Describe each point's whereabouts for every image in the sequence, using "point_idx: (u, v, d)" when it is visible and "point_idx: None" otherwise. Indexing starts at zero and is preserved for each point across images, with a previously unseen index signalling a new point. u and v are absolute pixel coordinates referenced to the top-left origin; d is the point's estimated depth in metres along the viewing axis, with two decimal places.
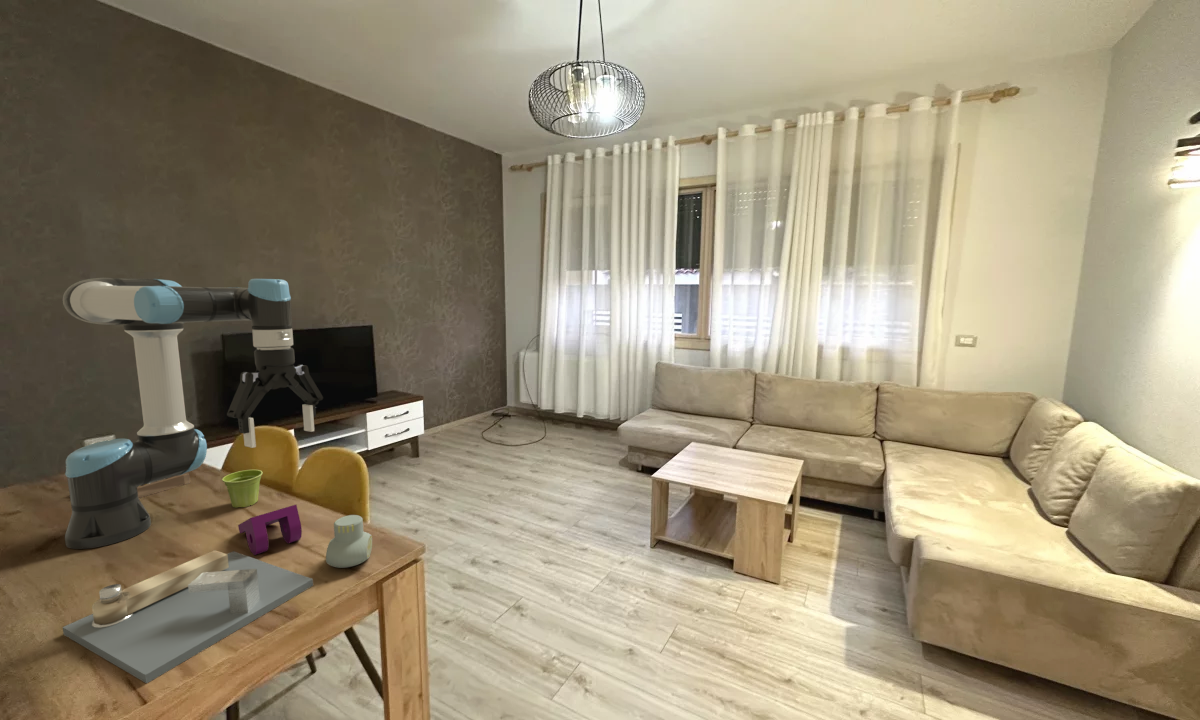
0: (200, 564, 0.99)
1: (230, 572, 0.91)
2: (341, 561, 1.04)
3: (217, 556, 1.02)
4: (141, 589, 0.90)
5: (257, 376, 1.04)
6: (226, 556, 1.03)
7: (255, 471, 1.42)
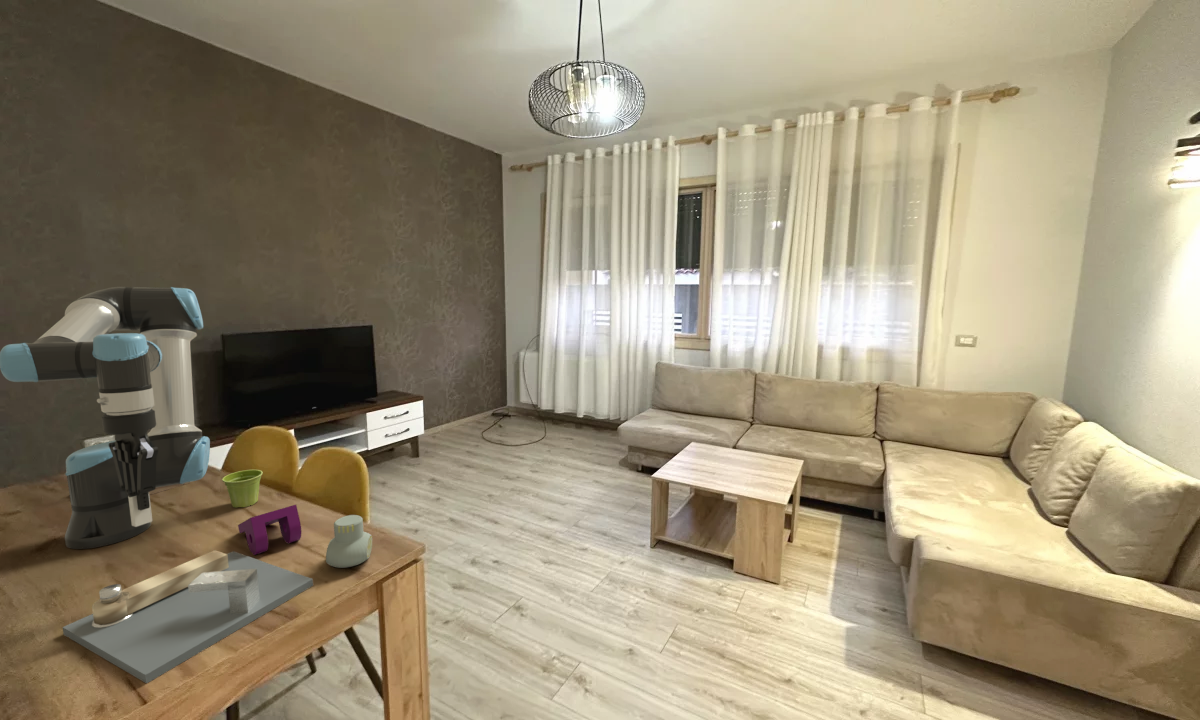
0: (200, 564, 0.99)
1: (230, 572, 0.91)
2: (341, 561, 1.04)
3: (217, 556, 1.02)
4: (141, 589, 0.90)
5: None
6: (226, 556, 1.03)
7: (255, 471, 1.42)
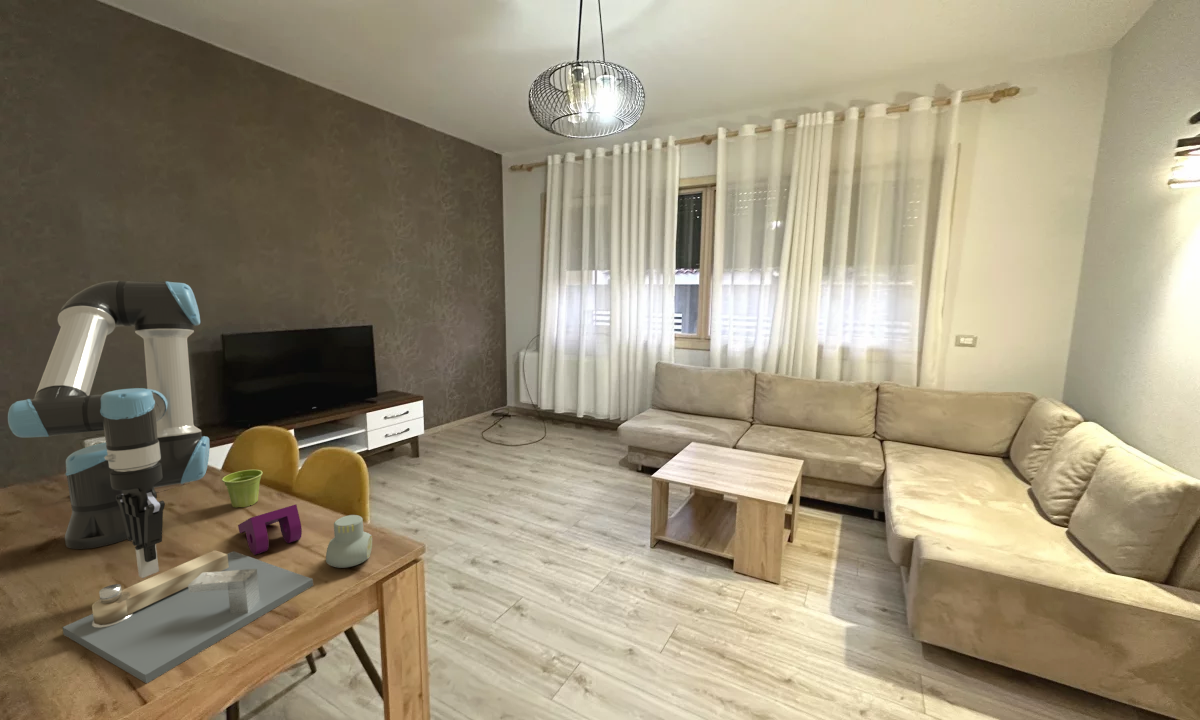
0: (200, 564, 0.99)
1: (230, 572, 0.91)
2: (341, 561, 1.04)
3: (217, 556, 1.02)
4: (141, 589, 0.90)
5: None
6: (226, 556, 1.03)
7: (255, 471, 1.42)
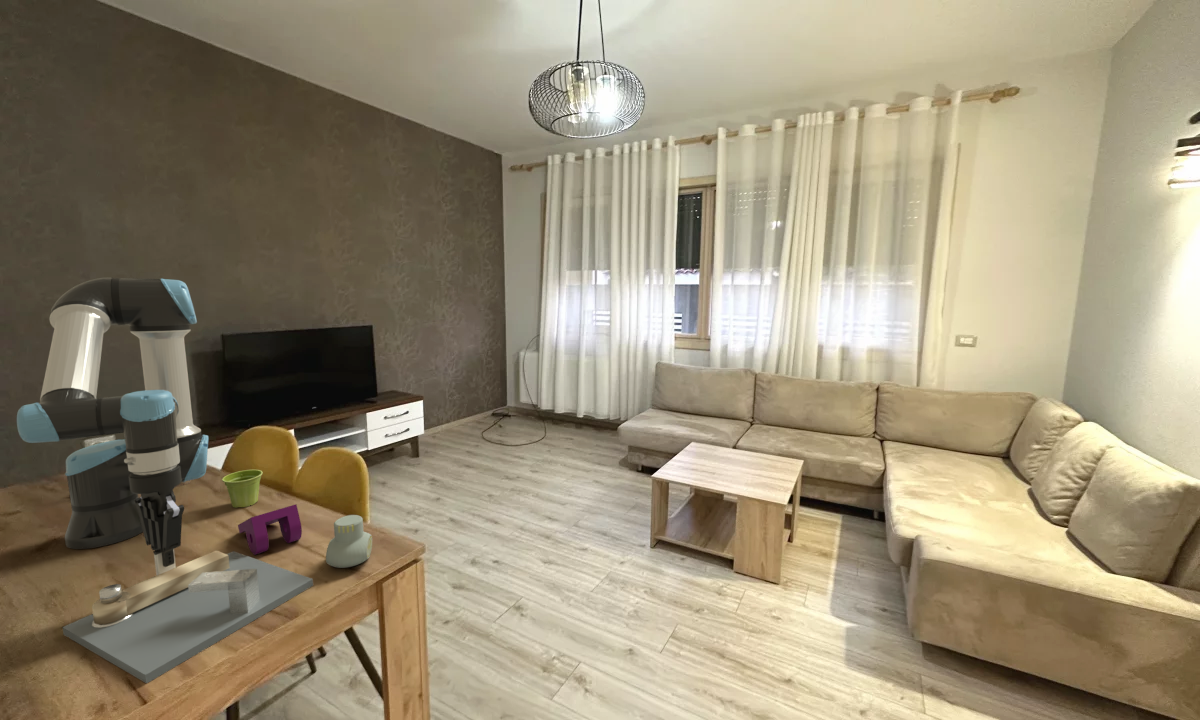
0: (201, 564, 0.99)
1: (230, 572, 0.91)
2: (341, 561, 1.04)
3: (218, 557, 1.02)
4: (141, 590, 0.90)
5: None
6: (227, 557, 1.02)
7: (255, 471, 1.42)
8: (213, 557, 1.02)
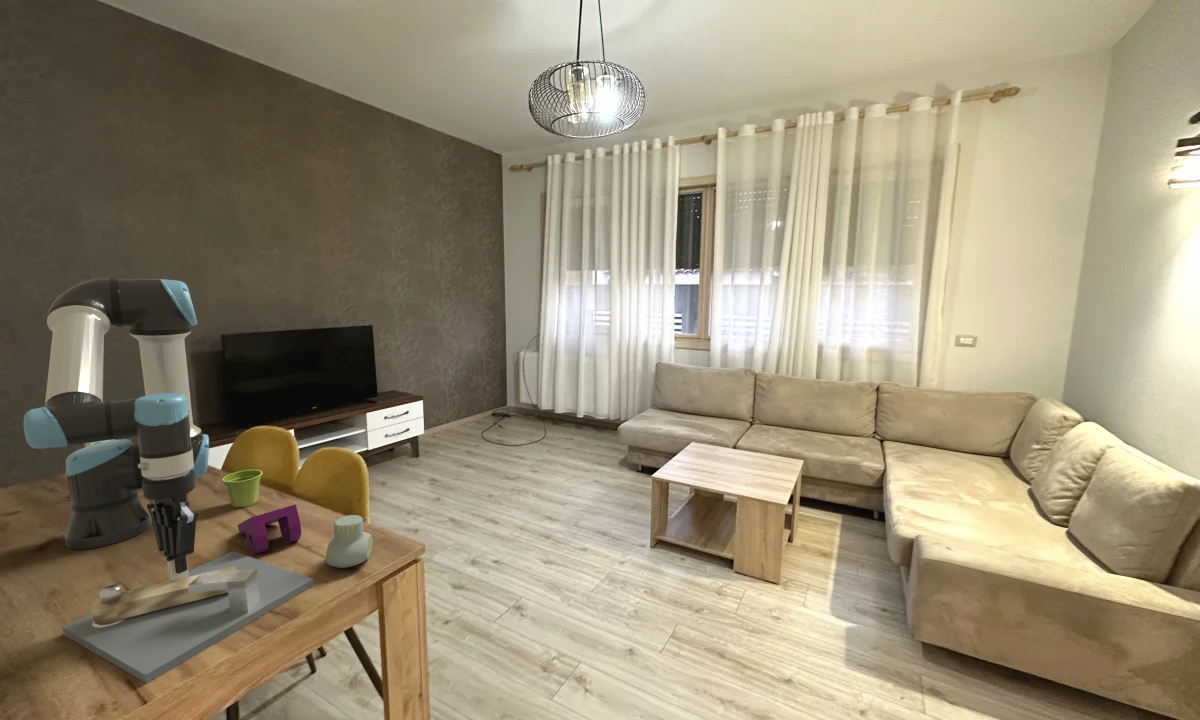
0: None
1: (230, 572, 0.91)
2: (341, 561, 1.04)
3: None
4: (138, 596, 0.88)
5: None
6: None
7: (255, 471, 1.42)
8: None
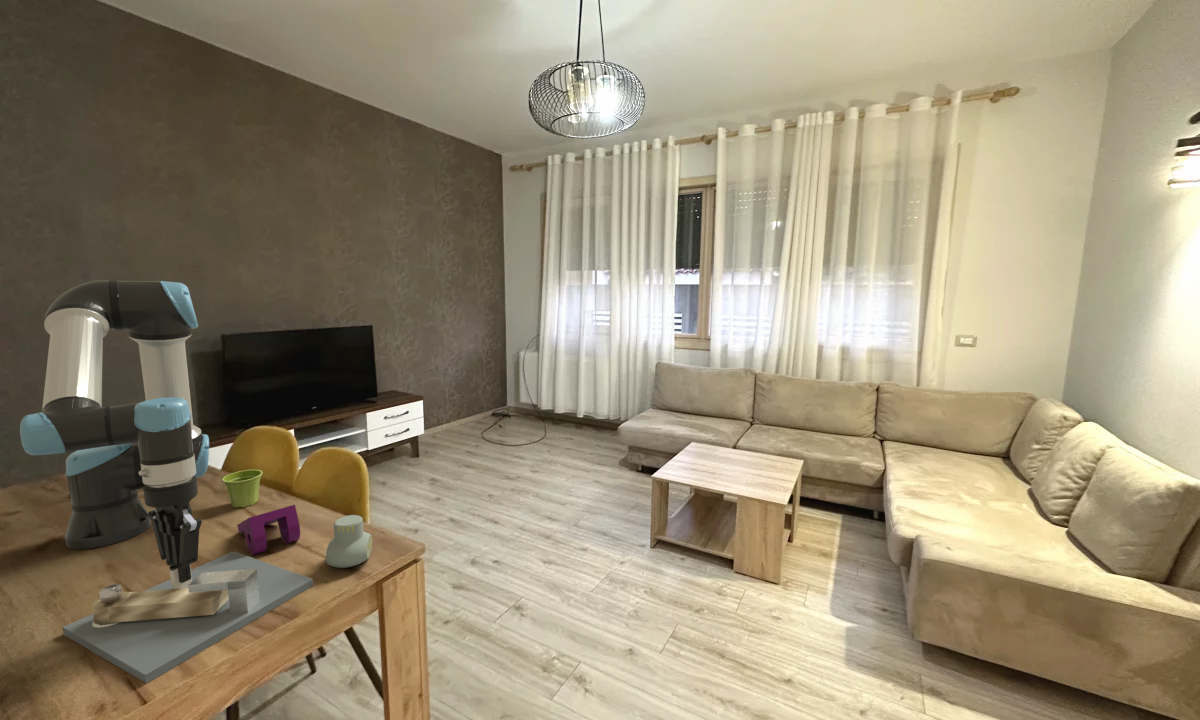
0: (189, 598, 0.88)
1: (230, 572, 0.91)
2: (341, 561, 1.04)
3: (207, 596, 0.88)
4: (130, 601, 0.87)
5: None
6: (210, 601, 0.88)
7: (255, 471, 1.42)
8: (207, 594, 0.89)
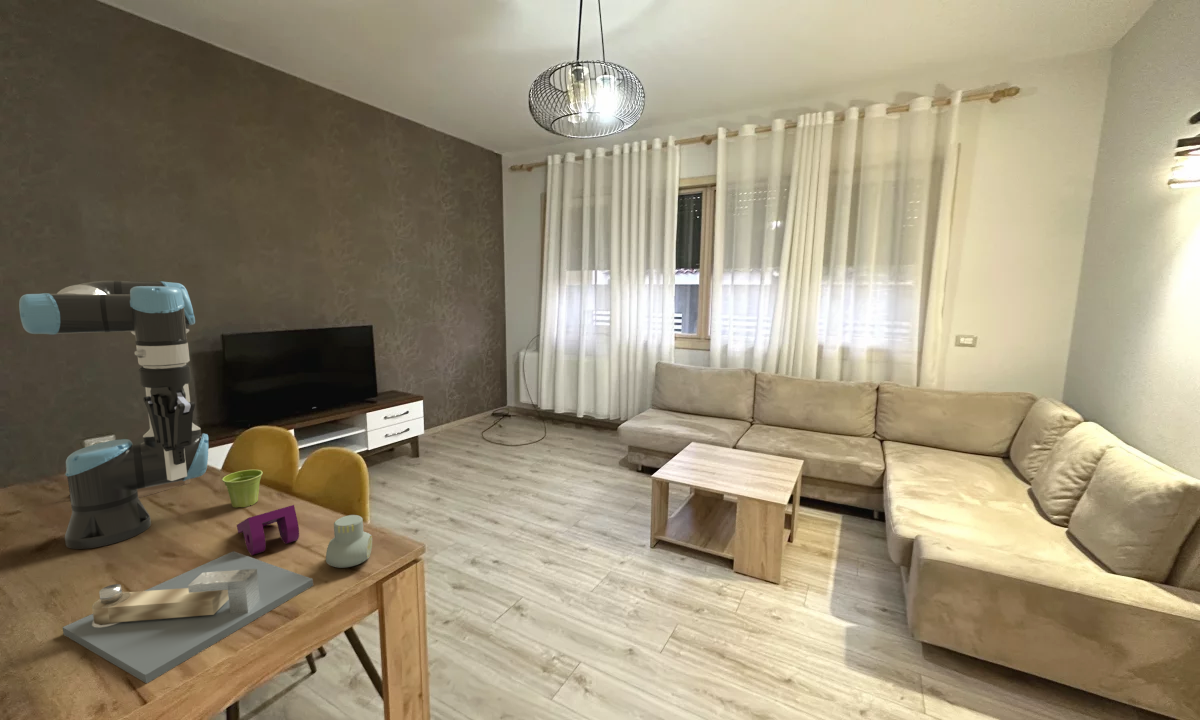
0: (189, 598, 0.88)
1: (230, 572, 0.91)
2: (341, 561, 1.04)
3: (207, 596, 0.88)
4: (130, 601, 0.87)
5: None
6: (210, 601, 0.88)
7: (255, 471, 1.42)
8: (207, 594, 0.89)
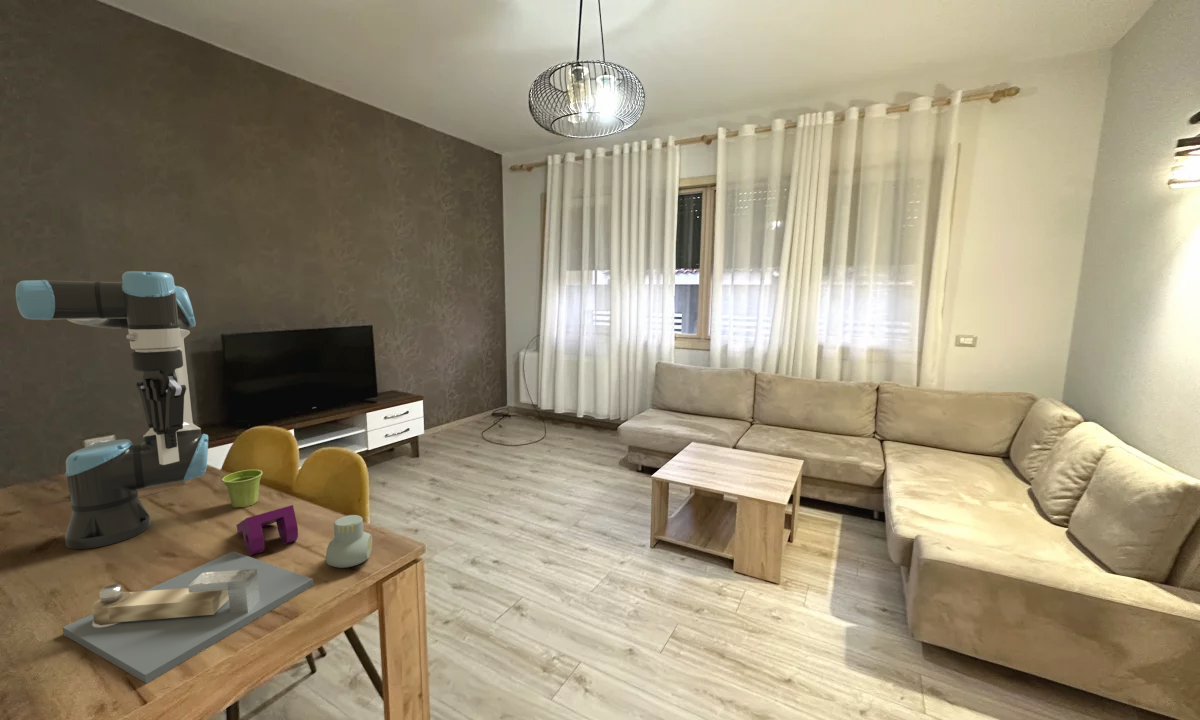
0: (189, 598, 0.88)
1: (230, 572, 0.91)
2: (341, 561, 1.04)
3: (207, 596, 0.88)
4: (130, 601, 0.87)
5: None
6: (210, 601, 0.88)
7: (255, 471, 1.42)
8: (207, 594, 0.89)
